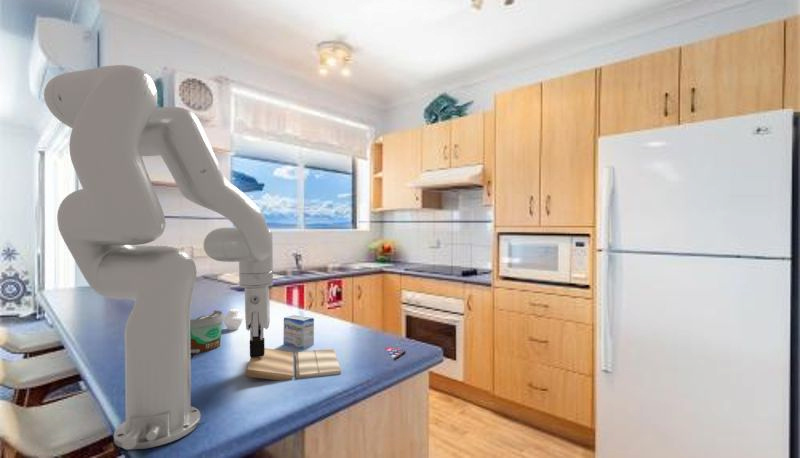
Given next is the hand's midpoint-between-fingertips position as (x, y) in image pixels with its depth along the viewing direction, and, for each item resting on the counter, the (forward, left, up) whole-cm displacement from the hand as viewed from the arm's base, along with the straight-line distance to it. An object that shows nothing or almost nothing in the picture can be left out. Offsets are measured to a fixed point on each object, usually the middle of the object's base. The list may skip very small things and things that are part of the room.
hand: (257, 355), depth 91 cm
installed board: (0, -14, -4) cm, 15 cm away
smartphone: (+1, -31, -5) cm, 31 cm away
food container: (+21, +14, -4) cm, 25 cm away
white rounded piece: (+43, +11, -4) cm, 44 cm away
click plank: (0, -3, -3) cm, 4 cm away
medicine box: (+17, -10, -4) cm, 20 cm away
